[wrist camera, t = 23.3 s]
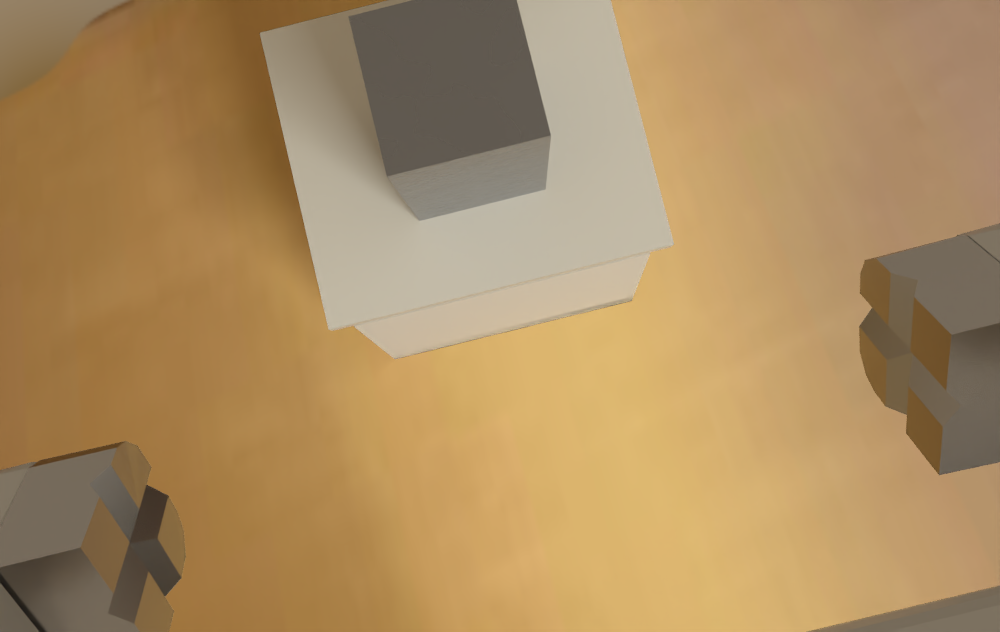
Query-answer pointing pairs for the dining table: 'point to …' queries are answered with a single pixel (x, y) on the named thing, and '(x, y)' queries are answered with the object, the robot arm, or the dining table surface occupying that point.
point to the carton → (507, 308)
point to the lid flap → (479, 230)
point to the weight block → (453, 102)
